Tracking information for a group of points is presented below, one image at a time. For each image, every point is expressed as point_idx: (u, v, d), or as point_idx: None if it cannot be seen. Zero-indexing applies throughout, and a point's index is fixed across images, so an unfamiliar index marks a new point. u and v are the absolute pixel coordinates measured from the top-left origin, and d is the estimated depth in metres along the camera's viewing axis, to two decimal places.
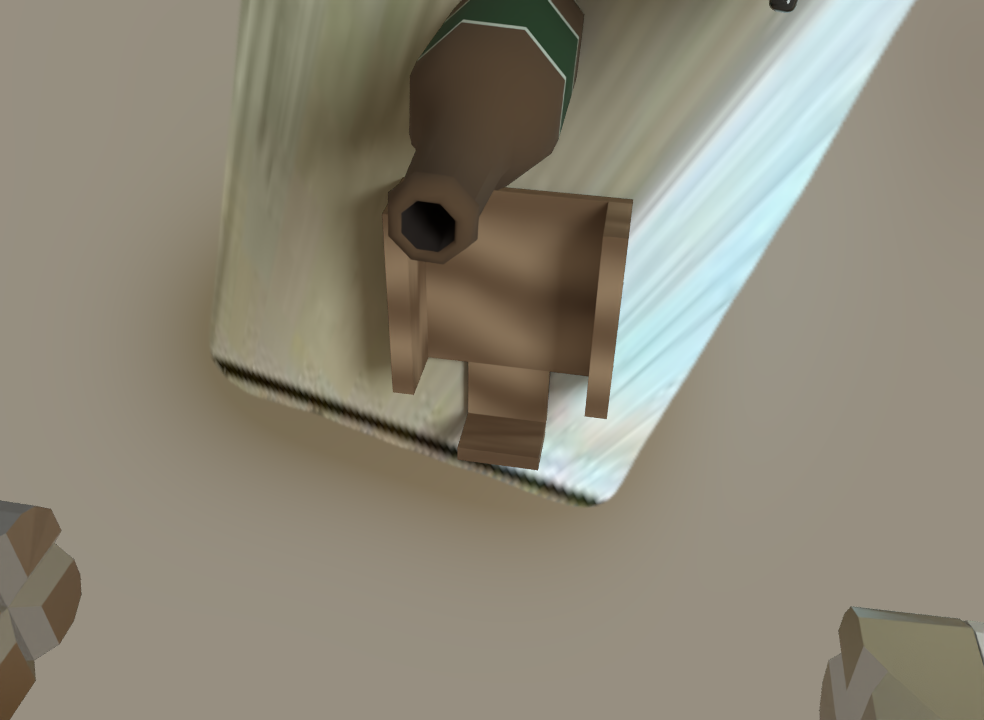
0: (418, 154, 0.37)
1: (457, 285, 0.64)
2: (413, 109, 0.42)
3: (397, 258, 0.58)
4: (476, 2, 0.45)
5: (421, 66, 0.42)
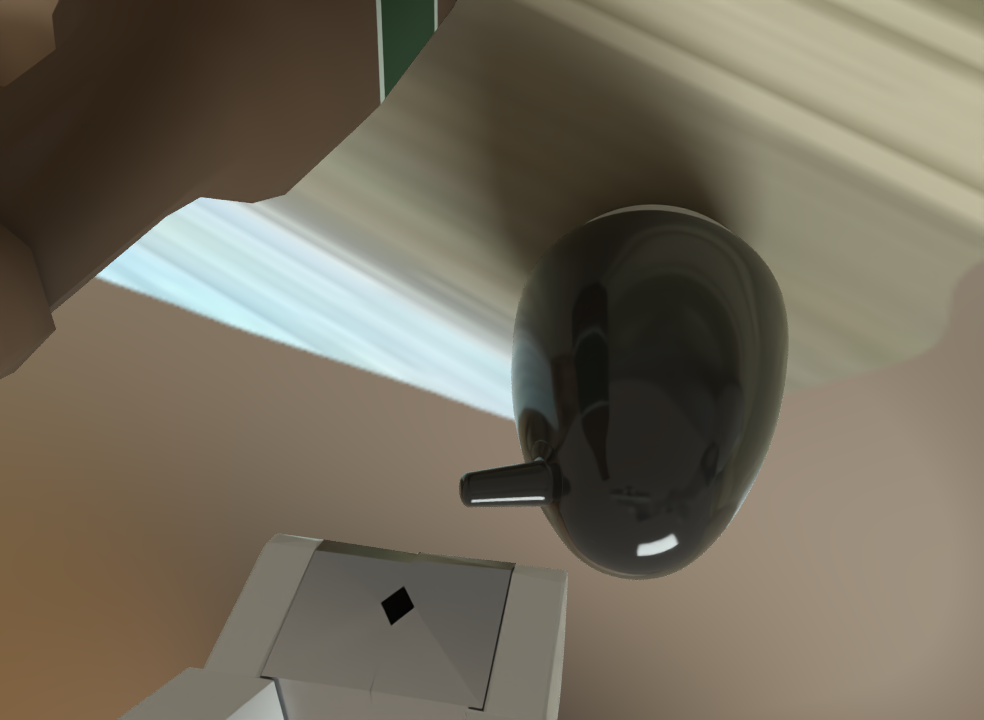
0: (82, 121, 0.16)
1: None
2: None
3: None
4: None
5: None
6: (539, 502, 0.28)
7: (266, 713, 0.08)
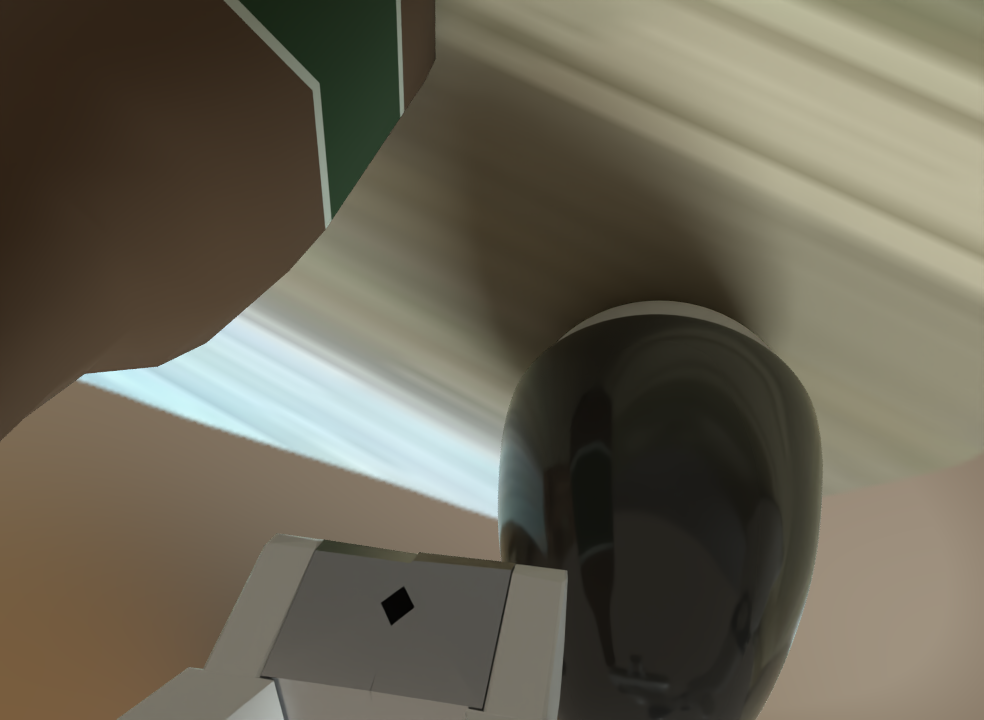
0: None
1: None
2: (41, 67, 0.14)
3: None
4: (362, 41, 0.20)
5: (174, 36, 0.15)
6: None
7: (266, 713, 0.08)
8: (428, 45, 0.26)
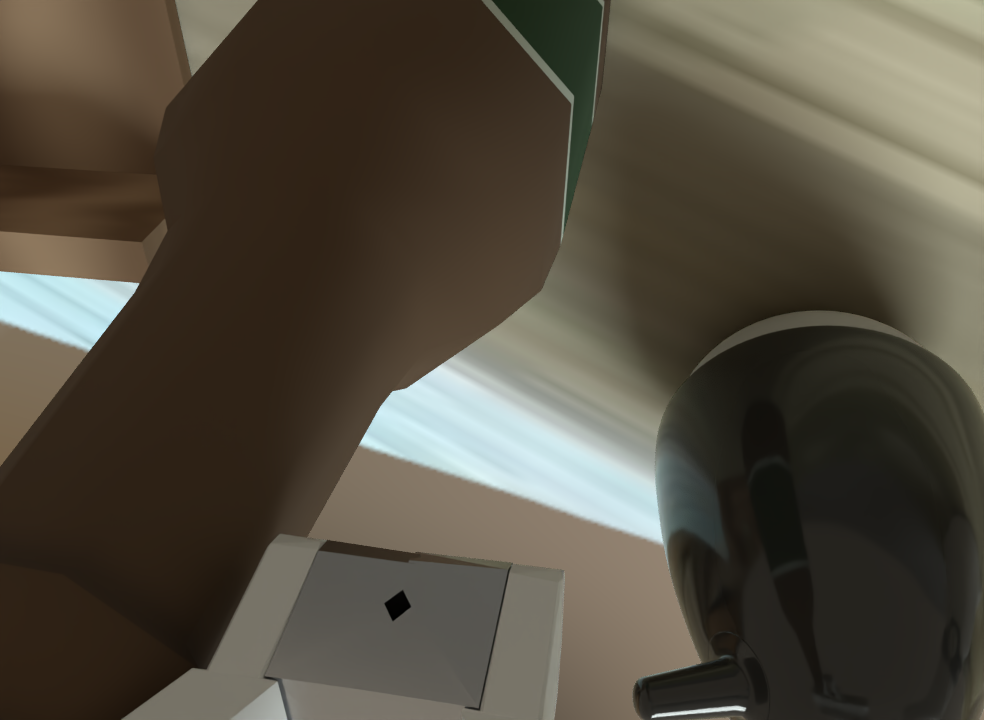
0: (243, 385, 0.10)
1: None
2: (347, 84, 0.14)
3: None
4: (589, 50, 0.19)
5: (463, 50, 0.15)
6: (734, 715, 0.22)
7: (270, 714, 0.08)
8: (605, 51, 0.26)
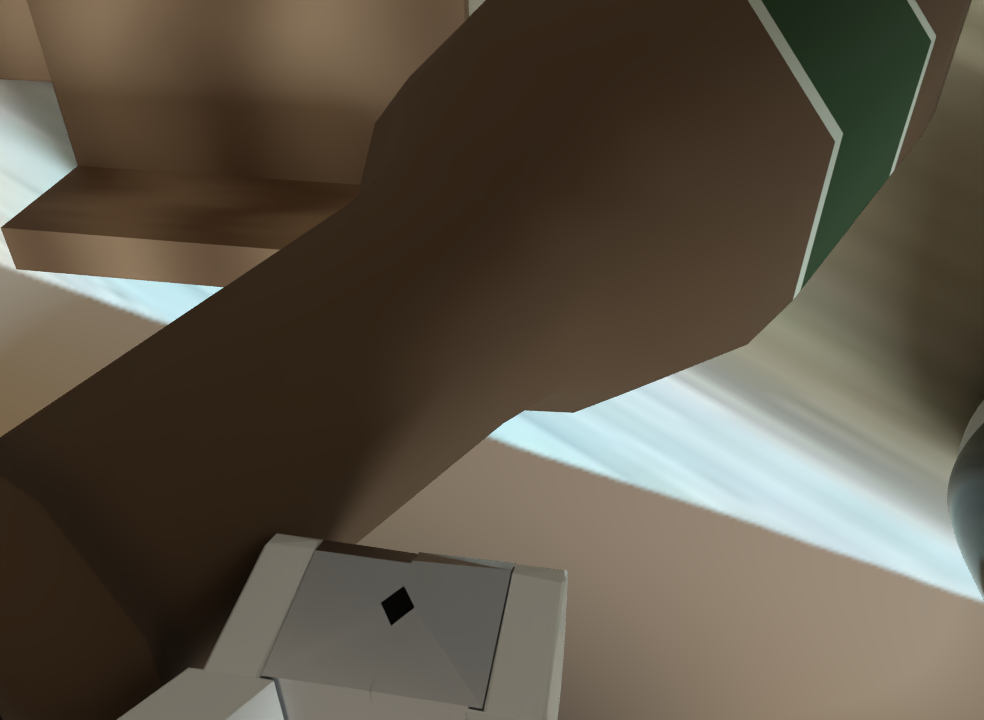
0: (324, 363, 0.10)
1: None
2: (560, 75, 0.13)
3: None
4: (890, 87, 0.17)
5: (706, 59, 0.13)
6: None
7: (266, 713, 0.08)
8: (936, 95, 0.22)
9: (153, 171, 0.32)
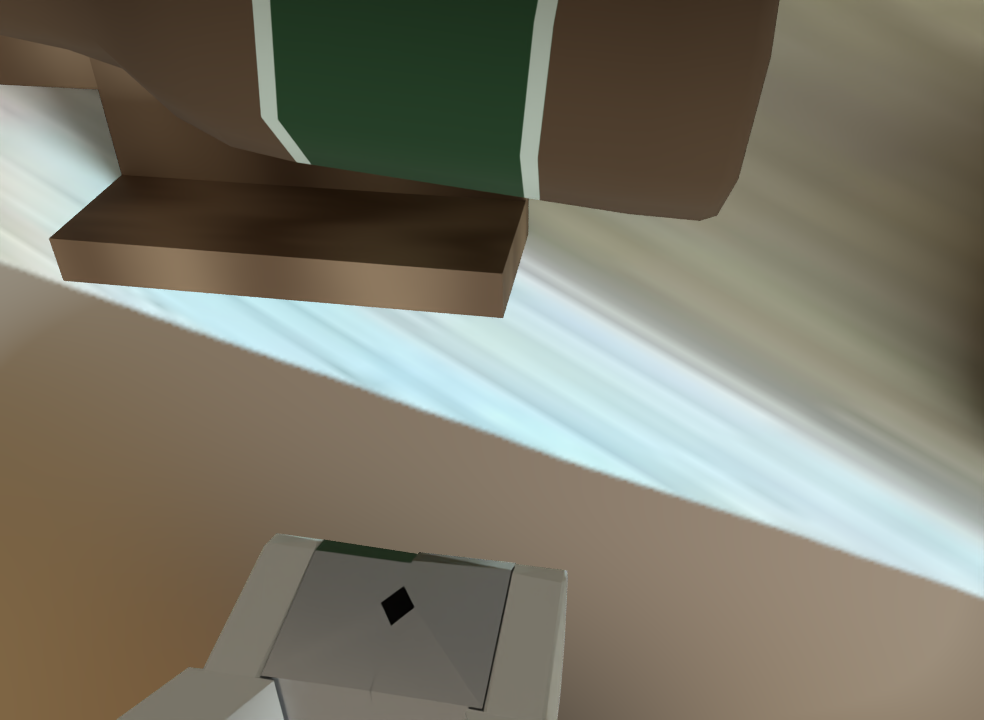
0: None
1: None
2: None
3: None
4: (398, 8, 0.19)
5: None
6: None
7: (266, 713, 0.08)
8: (678, 145, 0.20)
9: (199, 180, 0.31)
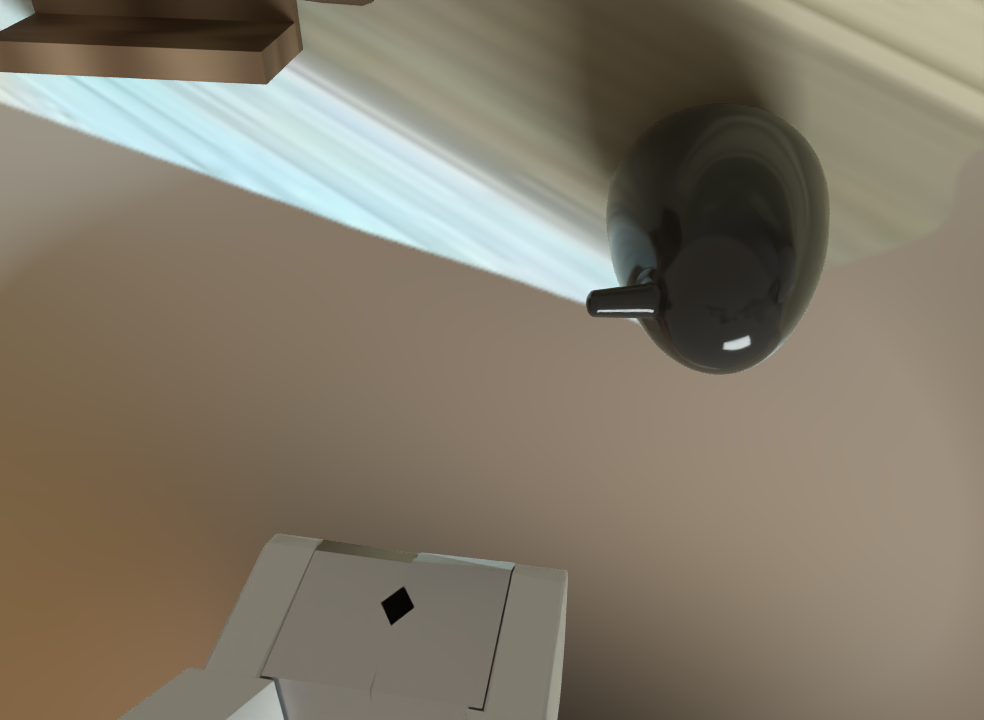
0: None
1: None
2: None
3: None
4: None
5: None
6: (648, 313, 0.36)
7: (266, 713, 0.08)
8: None
9: (86, 15, 0.47)
